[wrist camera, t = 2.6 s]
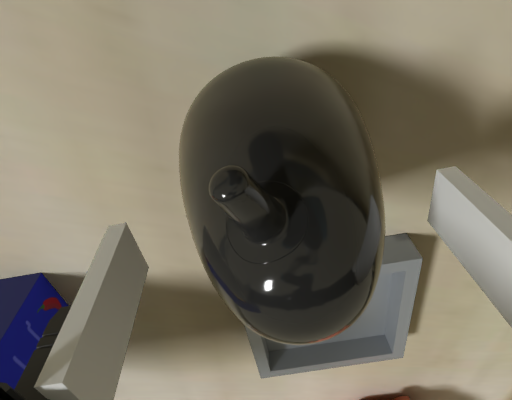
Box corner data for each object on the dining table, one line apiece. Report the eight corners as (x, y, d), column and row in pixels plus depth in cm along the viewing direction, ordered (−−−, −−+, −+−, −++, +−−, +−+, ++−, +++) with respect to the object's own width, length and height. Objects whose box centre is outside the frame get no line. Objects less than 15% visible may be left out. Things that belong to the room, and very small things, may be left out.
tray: (232, 261, 29) (232, 288, 27) (406, 233, 29) (422, 258, 26) (259, 352, 38) (261, 378, 36) (391, 332, 38) (403, 357, 35)
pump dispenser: (308, 2, 18) (475, 92, 6) (359, 152, 24) (498, 358, 12) (153, 88, 20) (35, 288, 8) (234, 207, 26) (238, 429, 14)
